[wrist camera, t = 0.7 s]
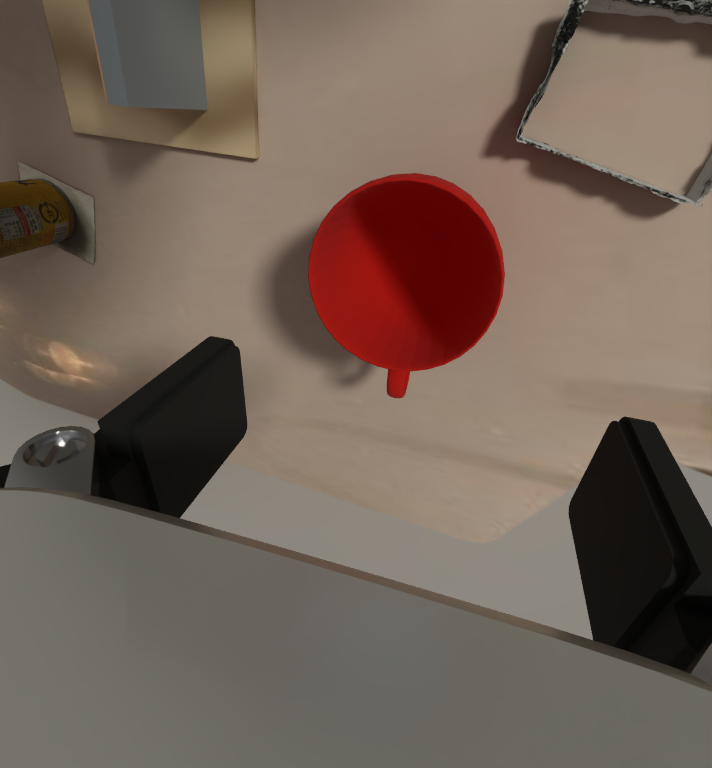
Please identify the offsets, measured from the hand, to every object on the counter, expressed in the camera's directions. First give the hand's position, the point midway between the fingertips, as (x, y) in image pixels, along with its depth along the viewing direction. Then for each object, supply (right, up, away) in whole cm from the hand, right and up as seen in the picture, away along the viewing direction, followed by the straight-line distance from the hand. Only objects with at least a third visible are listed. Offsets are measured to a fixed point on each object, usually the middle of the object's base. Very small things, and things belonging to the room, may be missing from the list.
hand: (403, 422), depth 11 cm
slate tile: (-14, +27, +21) cm, 37 cm away
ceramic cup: (+4, +11, +26) cm, 28 cm away
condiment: (-32, +19, +33) cm, 50 cm away
